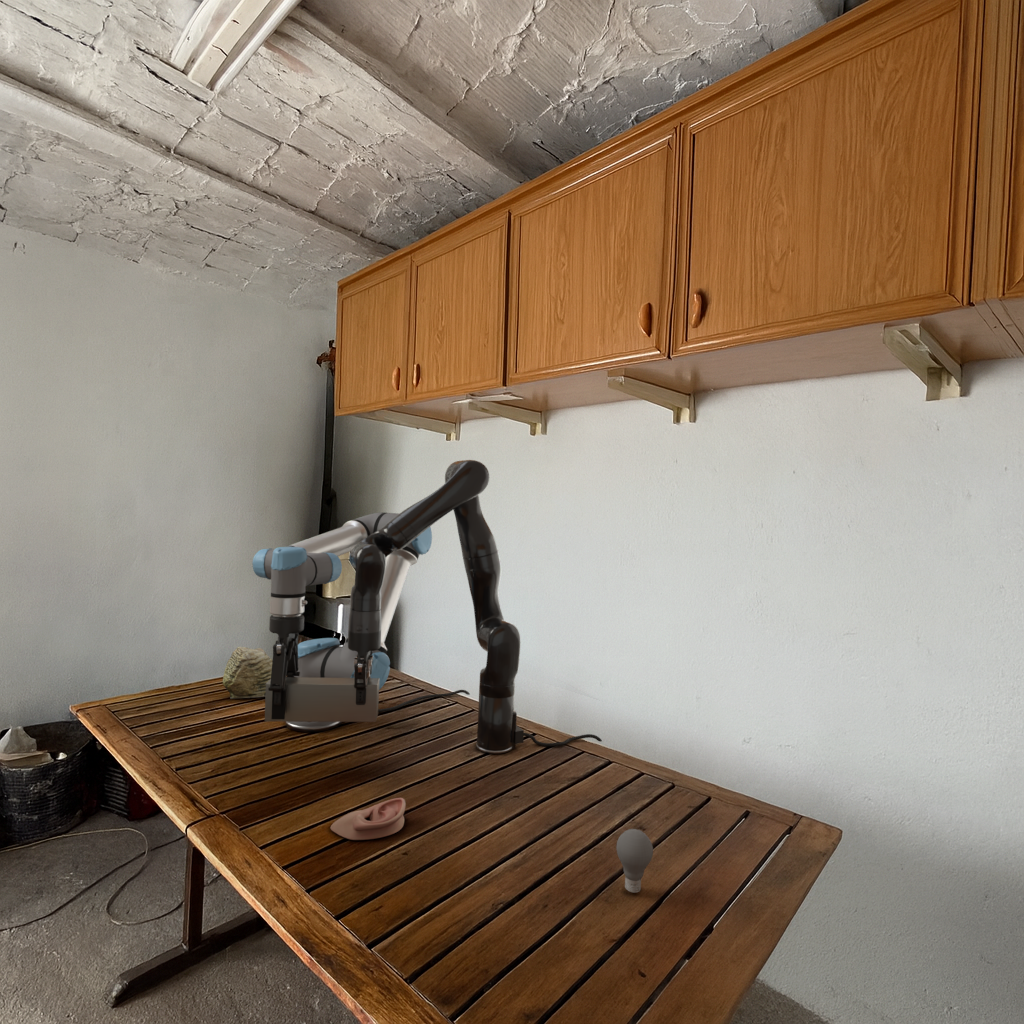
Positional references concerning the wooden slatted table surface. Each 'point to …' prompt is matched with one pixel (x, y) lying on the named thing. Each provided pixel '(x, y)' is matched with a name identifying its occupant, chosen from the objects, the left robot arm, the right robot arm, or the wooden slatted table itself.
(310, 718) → the bar
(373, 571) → the right robot arm
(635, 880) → the light bulb
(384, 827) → the anatomical model
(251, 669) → the fossil
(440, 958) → the wooden slatted table surface
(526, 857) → the wooden slatted table surface
